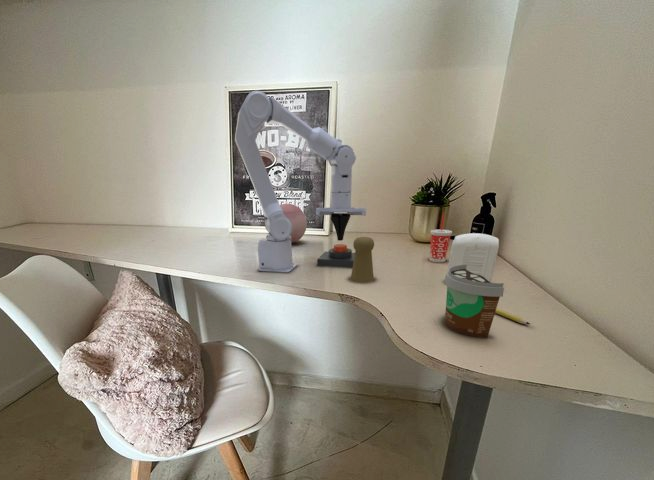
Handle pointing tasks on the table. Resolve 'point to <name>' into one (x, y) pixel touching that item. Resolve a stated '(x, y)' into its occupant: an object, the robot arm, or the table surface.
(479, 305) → the food container
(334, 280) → the table surface
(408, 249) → the table surface
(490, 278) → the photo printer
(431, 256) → the beverage cup
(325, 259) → the dark grey button base
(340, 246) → the timer button
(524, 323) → the pencil
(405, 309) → the table surface
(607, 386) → the table surface
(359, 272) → the cork
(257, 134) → the robot arm
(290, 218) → the pink ball
